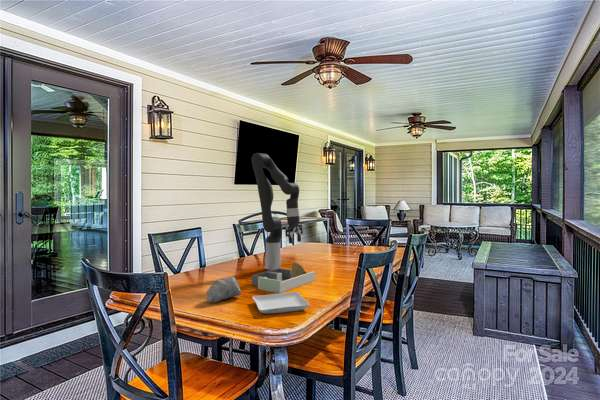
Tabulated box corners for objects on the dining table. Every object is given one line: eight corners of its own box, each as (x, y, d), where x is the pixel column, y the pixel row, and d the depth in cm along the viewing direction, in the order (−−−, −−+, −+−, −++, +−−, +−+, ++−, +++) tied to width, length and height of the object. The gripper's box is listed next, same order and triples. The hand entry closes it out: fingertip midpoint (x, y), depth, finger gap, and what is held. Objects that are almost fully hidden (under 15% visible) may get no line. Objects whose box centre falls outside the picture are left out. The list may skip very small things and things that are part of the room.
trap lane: (245, 286, 198) (245, 275, 198) (282, 275, 223) (282, 265, 223) (279, 293, 184) (279, 280, 184) (315, 280, 209) (315, 269, 209)
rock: (310, 274, 215) (293, 271, 217) (310, 264, 210) (293, 261, 211) (306, 289, 207) (288, 286, 209) (306, 279, 201) (288, 276, 203)
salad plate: (259, 318, 149) (259, 309, 149) (251, 303, 170) (251, 295, 170) (311, 312, 155) (310, 304, 155) (297, 298, 175) (297, 291, 175)
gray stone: (206, 306, 165) (206, 283, 164) (205, 297, 179) (204, 276, 179) (243, 302, 169) (243, 280, 169) (239, 294, 183) (239, 273, 183)
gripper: (295, 215, 238) (297, 241, 238) (280, 216, 227) (283, 244, 226) (304, 214, 234) (306, 241, 234) (290, 216, 222) (293, 243, 222)
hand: (295, 242), depth 230 cm, fingers open, 8 cm apart
